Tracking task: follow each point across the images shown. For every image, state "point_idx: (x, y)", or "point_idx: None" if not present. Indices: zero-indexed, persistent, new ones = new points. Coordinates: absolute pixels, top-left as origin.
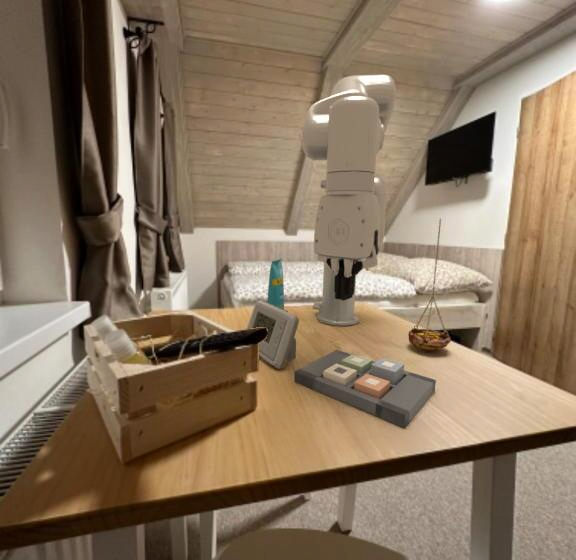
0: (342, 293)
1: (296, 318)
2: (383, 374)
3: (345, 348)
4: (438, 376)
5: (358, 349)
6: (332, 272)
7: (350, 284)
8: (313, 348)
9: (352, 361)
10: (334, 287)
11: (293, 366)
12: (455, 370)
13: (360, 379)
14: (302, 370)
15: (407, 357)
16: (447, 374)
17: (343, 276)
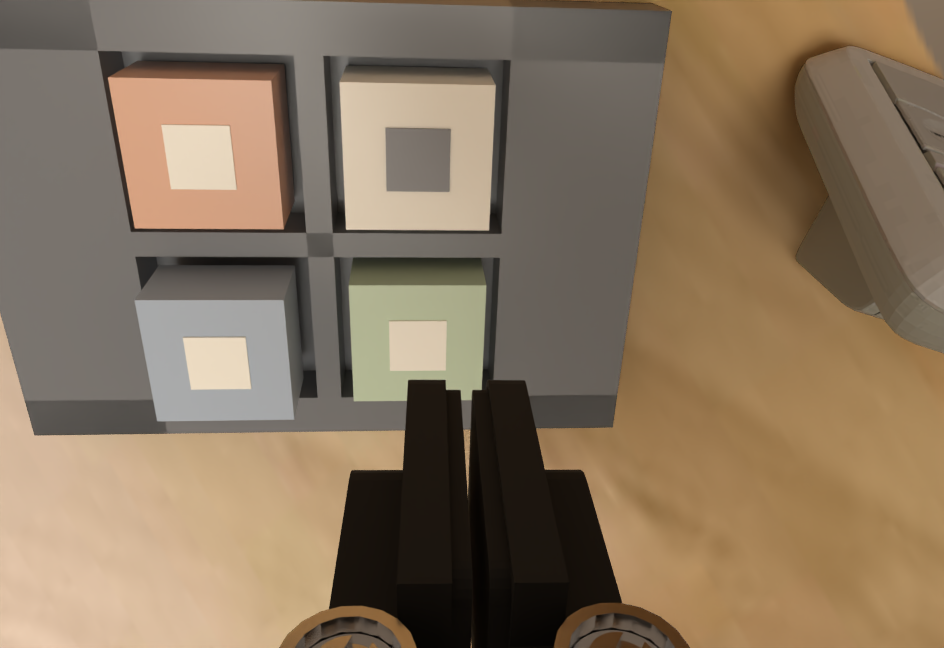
0: (417, 418)
1: (911, 298)
2: (211, 284)
3: (617, 526)
4: (121, 534)
5: None
6: (672, 642)
7: (339, 569)
8: (766, 424)
9: (429, 314)
10: (588, 498)
11: (754, 165)
12: (100, 625)
13: (265, 137)
14: (635, 57)
15: None
16: (104, 573)
17: (443, 626)
